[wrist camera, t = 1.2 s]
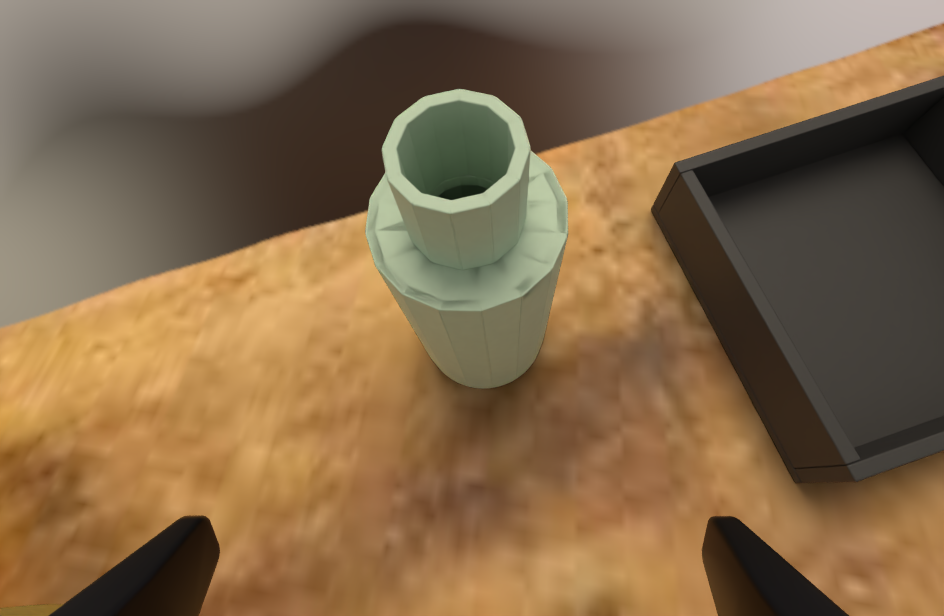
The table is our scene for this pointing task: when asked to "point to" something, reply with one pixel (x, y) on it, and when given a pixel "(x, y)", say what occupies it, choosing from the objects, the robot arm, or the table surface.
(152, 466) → the table surface
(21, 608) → the flower pot
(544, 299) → the bottle
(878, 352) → the bin
